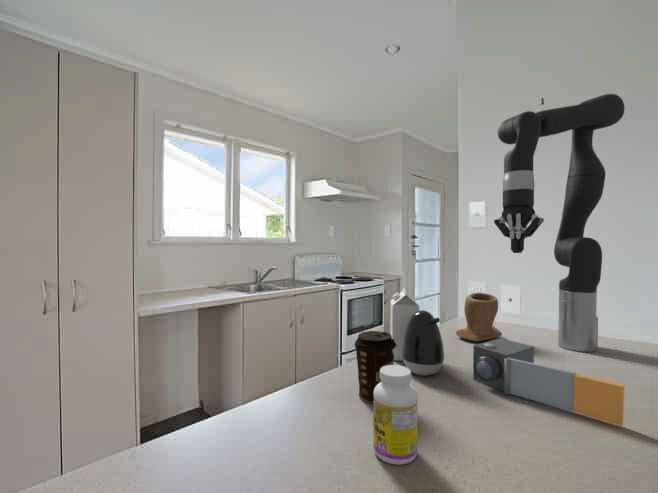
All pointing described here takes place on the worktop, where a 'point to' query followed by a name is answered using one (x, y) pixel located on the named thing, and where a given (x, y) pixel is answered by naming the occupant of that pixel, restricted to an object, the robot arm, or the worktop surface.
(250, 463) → the worktop surface
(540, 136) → the robot arm
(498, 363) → the camera body
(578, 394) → the grey and orange bar
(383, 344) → the coffee cup
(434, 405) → the worktop surface
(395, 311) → the milk carton
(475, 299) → the clay pot
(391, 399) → the supplement bottle
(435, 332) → the pump dispenser
